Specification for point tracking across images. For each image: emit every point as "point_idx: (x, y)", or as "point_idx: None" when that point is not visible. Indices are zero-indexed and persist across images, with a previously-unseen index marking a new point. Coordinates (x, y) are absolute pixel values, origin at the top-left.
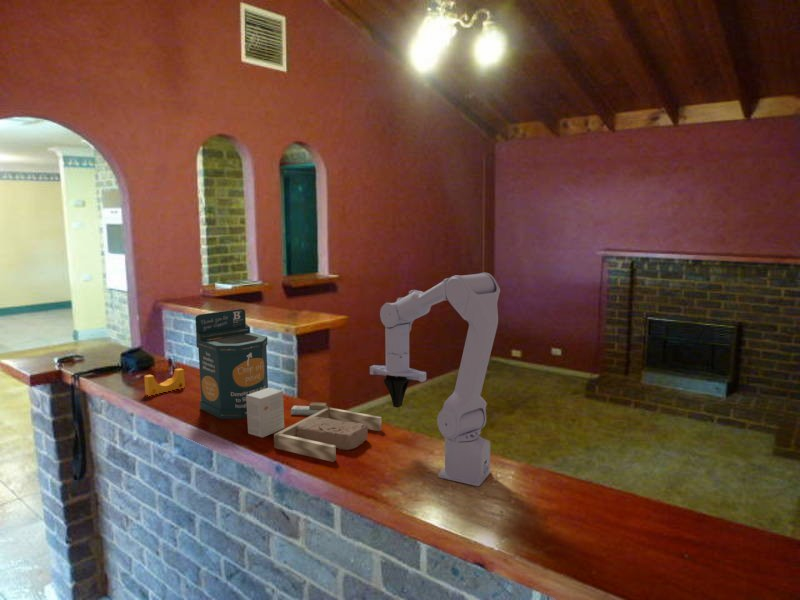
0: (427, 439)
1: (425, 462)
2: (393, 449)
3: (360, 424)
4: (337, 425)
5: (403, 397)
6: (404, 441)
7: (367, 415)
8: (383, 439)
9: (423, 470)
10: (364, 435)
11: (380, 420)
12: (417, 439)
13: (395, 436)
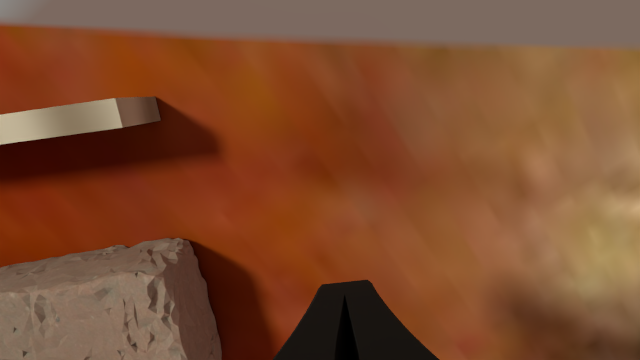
0: (427, 63)
1: (542, 284)
2: (354, 253)
3: (132, 294)
4: (45, 348)
5: (390, 312)
6: (343, 153)
7: (30, 126)
8: (246, 190)
9: (567, 343)
10: (190, 280)
11: (128, 110)
12: (383, 94)
13: (268, 127)
